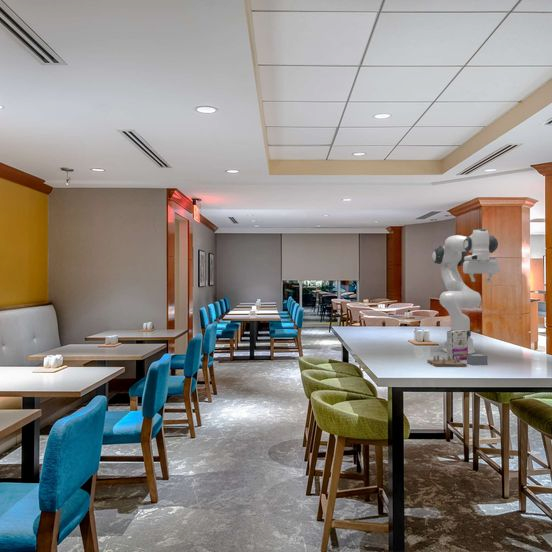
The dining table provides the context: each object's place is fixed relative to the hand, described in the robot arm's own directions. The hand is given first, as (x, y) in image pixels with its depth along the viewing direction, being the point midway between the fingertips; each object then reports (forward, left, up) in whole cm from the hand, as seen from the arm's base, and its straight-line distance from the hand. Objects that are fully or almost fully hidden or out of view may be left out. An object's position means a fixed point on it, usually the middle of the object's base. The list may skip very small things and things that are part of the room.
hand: (481, 281), depth 265 cm
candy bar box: (-7, -11, -45) cm, 47 cm away
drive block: (+10, -7, -45) cm, 46 cm away
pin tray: (+11, -24, -45) cm, 52 cm away
